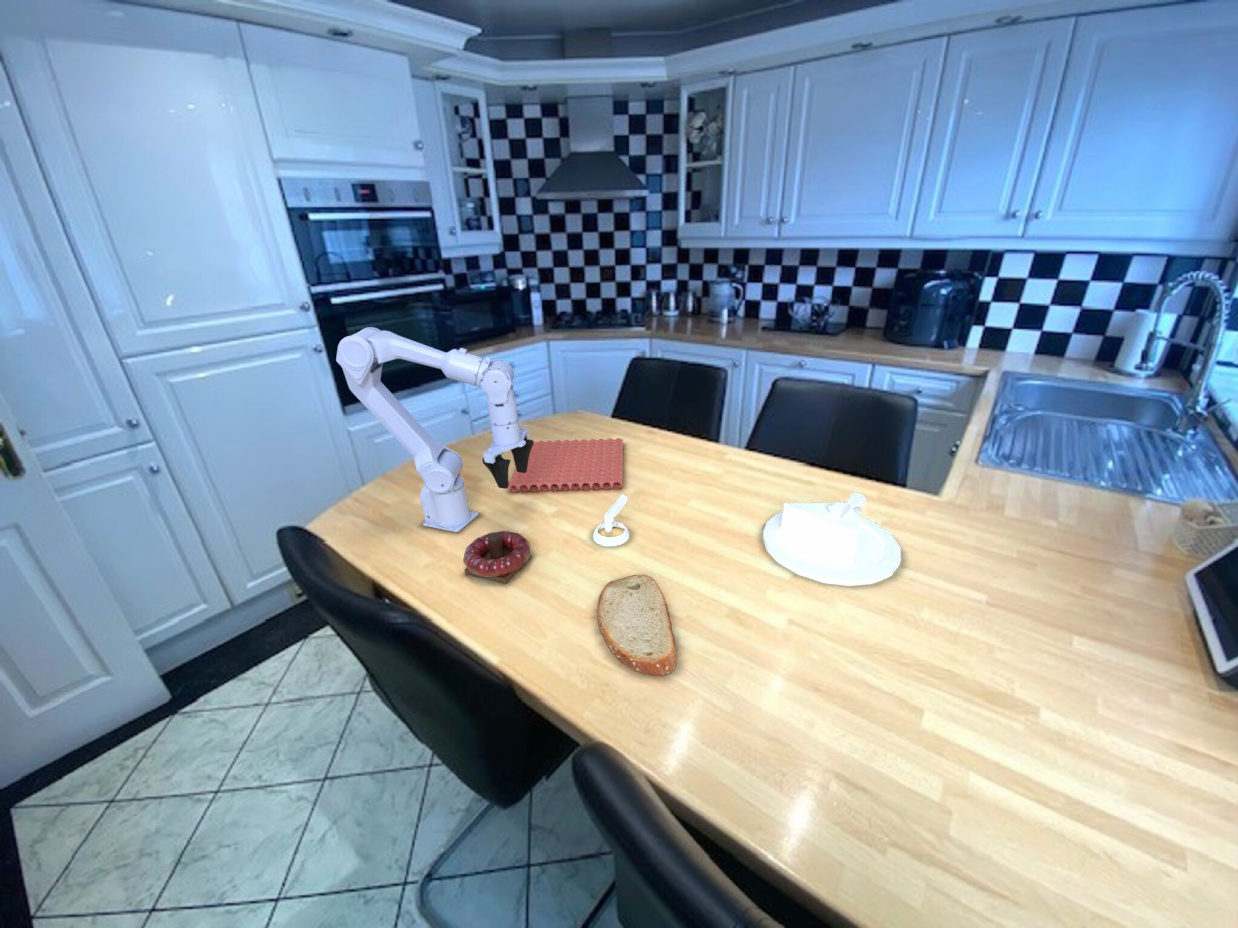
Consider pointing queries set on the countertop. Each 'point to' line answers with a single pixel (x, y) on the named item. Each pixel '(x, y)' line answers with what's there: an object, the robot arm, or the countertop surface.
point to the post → (495, 553)
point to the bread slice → (637, 624)
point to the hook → (612, 525)
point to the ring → (498, 565)
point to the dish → (832, 543)
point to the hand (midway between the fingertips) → (513, 479)
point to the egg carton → (572, 466)
